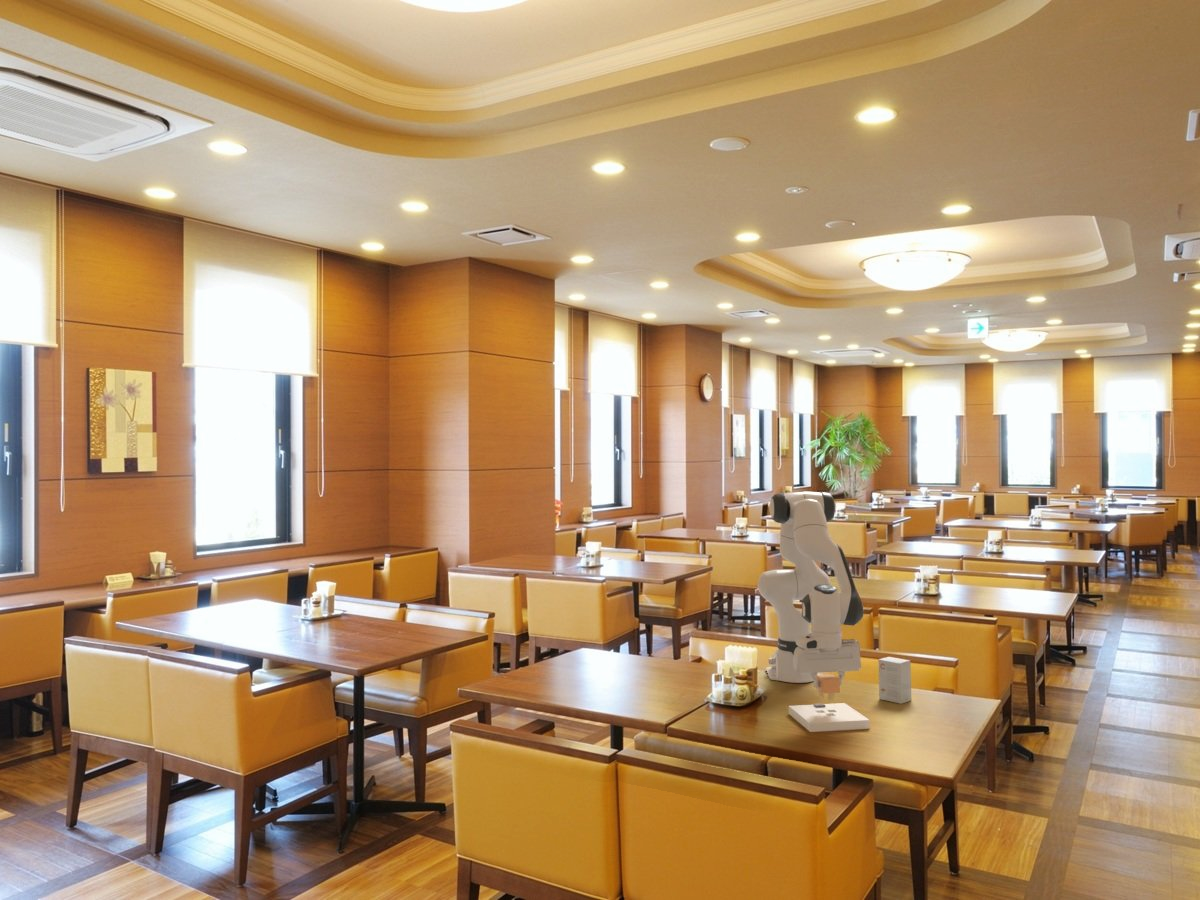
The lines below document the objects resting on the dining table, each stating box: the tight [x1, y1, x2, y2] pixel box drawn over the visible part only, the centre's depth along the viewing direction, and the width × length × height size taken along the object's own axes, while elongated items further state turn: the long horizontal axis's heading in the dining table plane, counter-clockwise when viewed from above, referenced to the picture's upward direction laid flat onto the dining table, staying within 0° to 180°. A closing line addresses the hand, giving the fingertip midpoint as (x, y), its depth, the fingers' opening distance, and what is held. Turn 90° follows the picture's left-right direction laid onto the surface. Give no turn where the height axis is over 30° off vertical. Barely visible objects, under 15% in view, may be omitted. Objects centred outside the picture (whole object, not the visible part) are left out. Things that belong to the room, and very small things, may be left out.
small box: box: [878, 656, 912, 705], centre depth 280 cm, size 8×6×13 cm
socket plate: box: [788, 702, 871, 733], centre depth 259 cm, size 18×18×3 cm
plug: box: [815, 673, 841, 701], centre depth 258 cm, size 6×5×6 cm
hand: (827, 686), depth 259 cm, fingers closed on plug, 5 cm apart
